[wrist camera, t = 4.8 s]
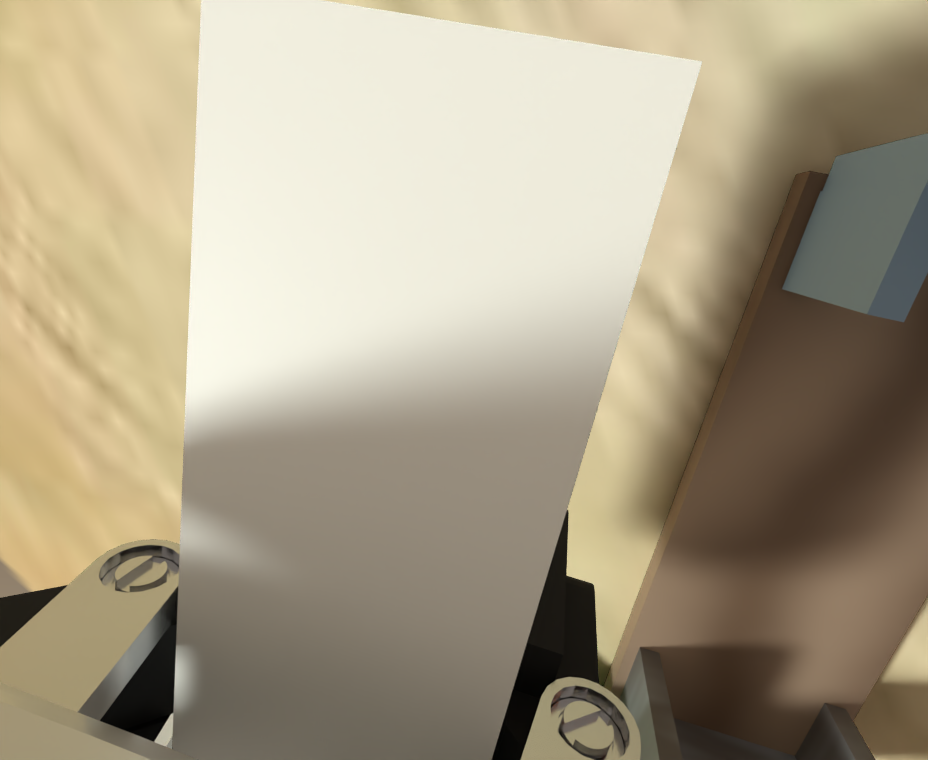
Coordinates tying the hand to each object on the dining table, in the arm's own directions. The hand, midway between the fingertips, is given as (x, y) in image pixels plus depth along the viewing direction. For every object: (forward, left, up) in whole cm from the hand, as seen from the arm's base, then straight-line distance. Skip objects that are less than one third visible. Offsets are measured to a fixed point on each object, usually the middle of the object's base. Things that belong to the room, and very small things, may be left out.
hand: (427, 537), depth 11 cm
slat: (0, 0, -1) cm, 1 cm away
